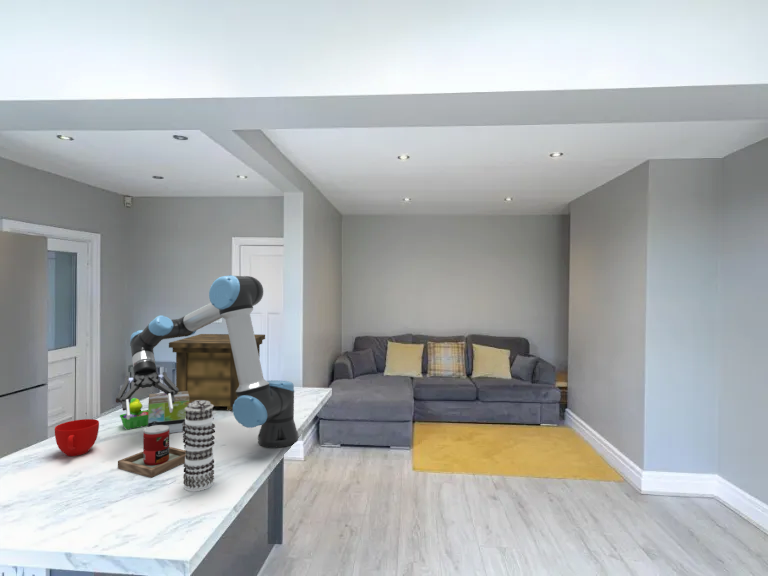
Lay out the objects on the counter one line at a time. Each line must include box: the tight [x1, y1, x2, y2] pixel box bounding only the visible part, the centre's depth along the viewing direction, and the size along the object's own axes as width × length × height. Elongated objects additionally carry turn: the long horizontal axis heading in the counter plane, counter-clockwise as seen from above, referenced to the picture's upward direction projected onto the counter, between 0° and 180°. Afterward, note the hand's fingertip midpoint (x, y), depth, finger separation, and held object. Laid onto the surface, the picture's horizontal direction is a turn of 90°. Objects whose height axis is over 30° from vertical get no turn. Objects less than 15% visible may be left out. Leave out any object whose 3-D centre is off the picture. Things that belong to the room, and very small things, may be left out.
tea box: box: [147, 391, 189, 434], centre depth 181 cm, size 15×10×15 cm, turn 117°
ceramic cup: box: [54, 418, 100, 457], centre depth 155 cm, size 13×17×10 cm
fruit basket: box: [119, 397, 148, 430], centre depth 186 cm, size 11×9×11 cm
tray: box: [117, 446, 186, 479], centre depth 147 cm, size 16×16×2 cm
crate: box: [168, 333, 266, 412], centre depth 222 cm, size 35×35×33 cm
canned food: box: [142, 425, 170, 465], centre depth 148 cm, size 8×8×11 cm
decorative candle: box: [182, 400, 216, 492], centre depth 132 cm, size 9×9×25 cm
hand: (150, 413), depth 156 cm, fingers open, 13 cm apart
